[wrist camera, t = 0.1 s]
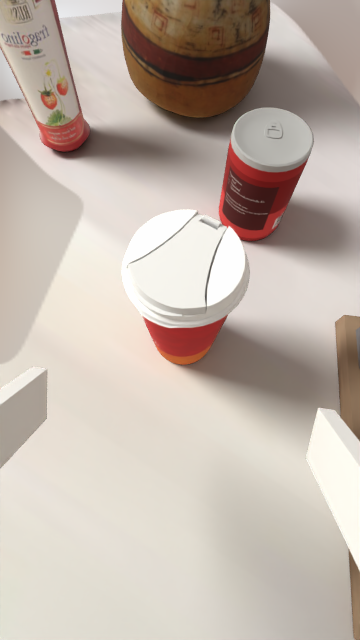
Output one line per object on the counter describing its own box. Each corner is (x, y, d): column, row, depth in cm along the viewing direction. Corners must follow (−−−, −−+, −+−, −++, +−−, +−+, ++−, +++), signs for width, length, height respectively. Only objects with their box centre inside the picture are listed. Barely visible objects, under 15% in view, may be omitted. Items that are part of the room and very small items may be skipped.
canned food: (271, 190, 40) (302, 103, 30) (285, 240, 37) (325, 163, 27) (213, 194, 40) (224, 108, 30) (223, 245, 37) (239, 169, 27)
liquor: (90, 119, 45) (-27, -316, 20) (97, 154, 43) (-30, -298, 17) (40, 127, 45) (-151, -313, 19) (43, 163, 42) (-175, -293, 16)
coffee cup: (170, 289, 35) (164, 184, 21) (235, 325, 33) (277, 236, 19) (127, 351, 32) (88, 277, 18) (196, 393, 30) (211, 347, 16)
